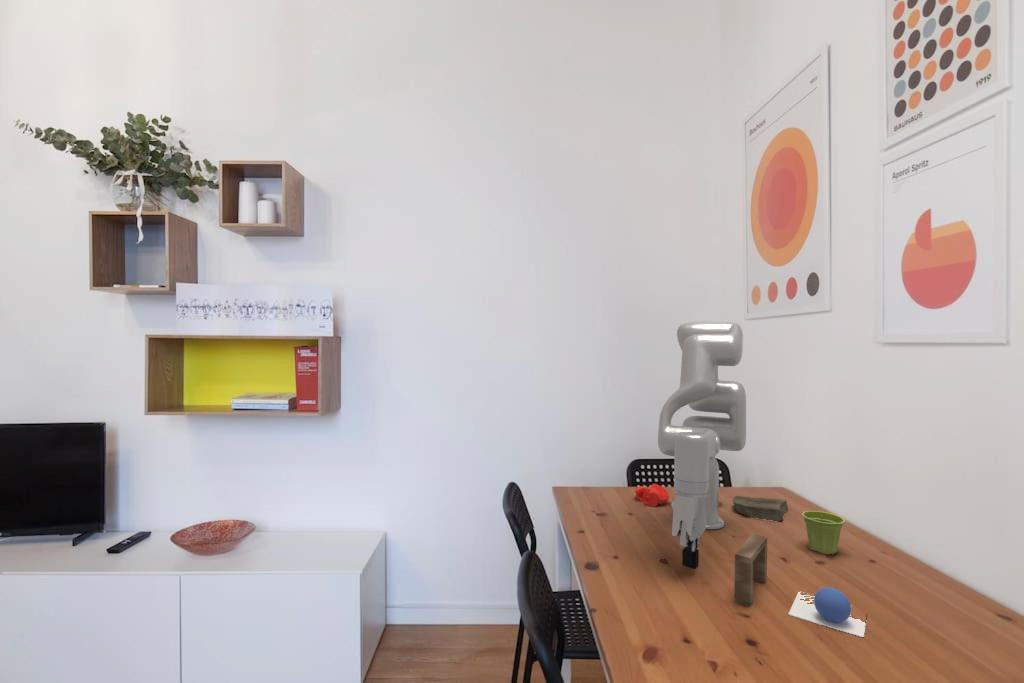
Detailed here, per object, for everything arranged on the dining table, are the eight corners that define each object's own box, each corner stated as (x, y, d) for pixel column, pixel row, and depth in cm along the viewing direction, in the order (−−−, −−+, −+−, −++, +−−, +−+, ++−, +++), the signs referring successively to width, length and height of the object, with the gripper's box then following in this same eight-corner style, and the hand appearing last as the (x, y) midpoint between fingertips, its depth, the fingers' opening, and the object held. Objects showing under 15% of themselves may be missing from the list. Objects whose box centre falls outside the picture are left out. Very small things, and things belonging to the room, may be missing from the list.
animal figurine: (670, 497, 175) (670, 482, 175) (669, 509, 161) (669, 493, 161) (636, 493, 179) (637, 479, 179) (632, 504, 165) (632, 489, 165)
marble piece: (787, 510, 162) (787, 498, 162) (795, 525, 148) (795, 511, 148) (731, 504, 168) (731, 491, 168) (734, 518, 154) (734, 504, 154)
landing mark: (788, 615, 97) (788, 614, 97) (798, 592, 106) (798, 591, 106) (863, 638, 89) (863, 637, 89) (867, 611, 99) (867, 610, 99)
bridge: (734, 601, 101) (734, 554, 102) (752, 576, 113) (752, 533, 113) (750, 606, 100) (750, 558, 100) (766, 580, 111) (767, 536, 111)
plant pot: (851, 559, 123) (851, 524, 124) (809, 555, 125) (810, 521, 125) (835, 545, 133) (835, 512, 133) (796, 541, 135) (796, 509, 135)
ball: (853, 612, 90) (832, 633, 92) (862, 603, 94) (842, 624, 96) (821, 584, 94) (802, 605, 96) (832, 577, 98) (813, 597, 100)
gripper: (686, 477, 123) (685, 552, 123) (663, 490, 111) (662, 572, 111) (717, 482, 118) (716, 560, 118) (697, 496, 107) (696, 583, 106)
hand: (690, 566), depth 115 cm, fingers closed
